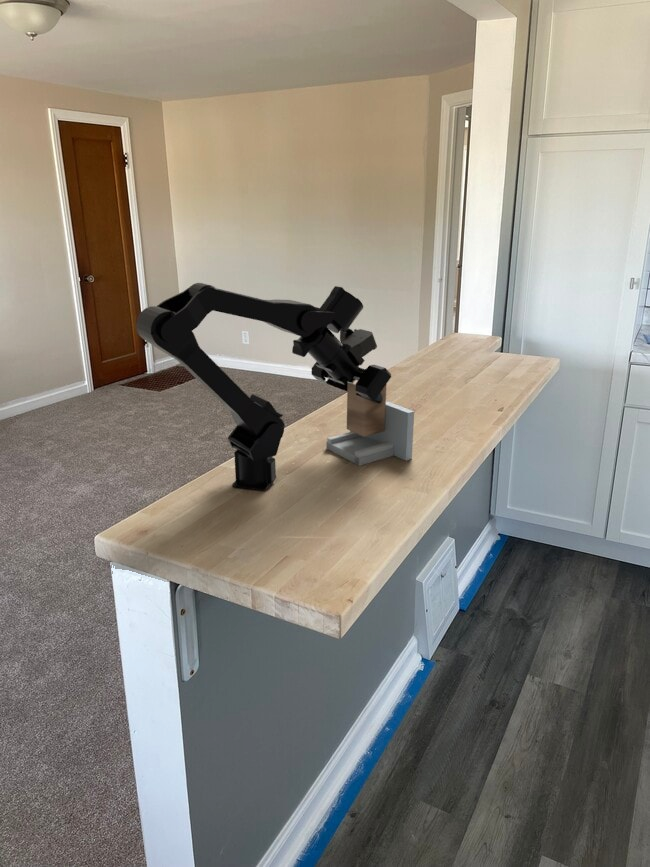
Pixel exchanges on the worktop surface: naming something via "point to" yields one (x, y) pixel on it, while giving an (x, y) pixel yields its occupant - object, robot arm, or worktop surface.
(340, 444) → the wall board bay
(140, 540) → the worktop surface
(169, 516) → the worktop surface
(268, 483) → the robot arm
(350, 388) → the walnut cabinet block
